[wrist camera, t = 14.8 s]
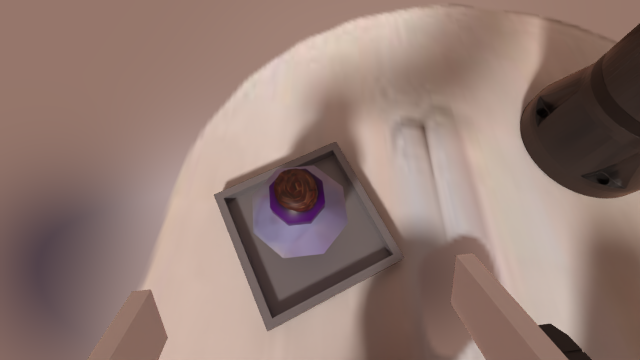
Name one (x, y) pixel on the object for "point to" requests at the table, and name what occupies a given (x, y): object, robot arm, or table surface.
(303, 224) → the potion bottle
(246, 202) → the charcoal tray
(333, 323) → the table surface
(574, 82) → the robot arm
